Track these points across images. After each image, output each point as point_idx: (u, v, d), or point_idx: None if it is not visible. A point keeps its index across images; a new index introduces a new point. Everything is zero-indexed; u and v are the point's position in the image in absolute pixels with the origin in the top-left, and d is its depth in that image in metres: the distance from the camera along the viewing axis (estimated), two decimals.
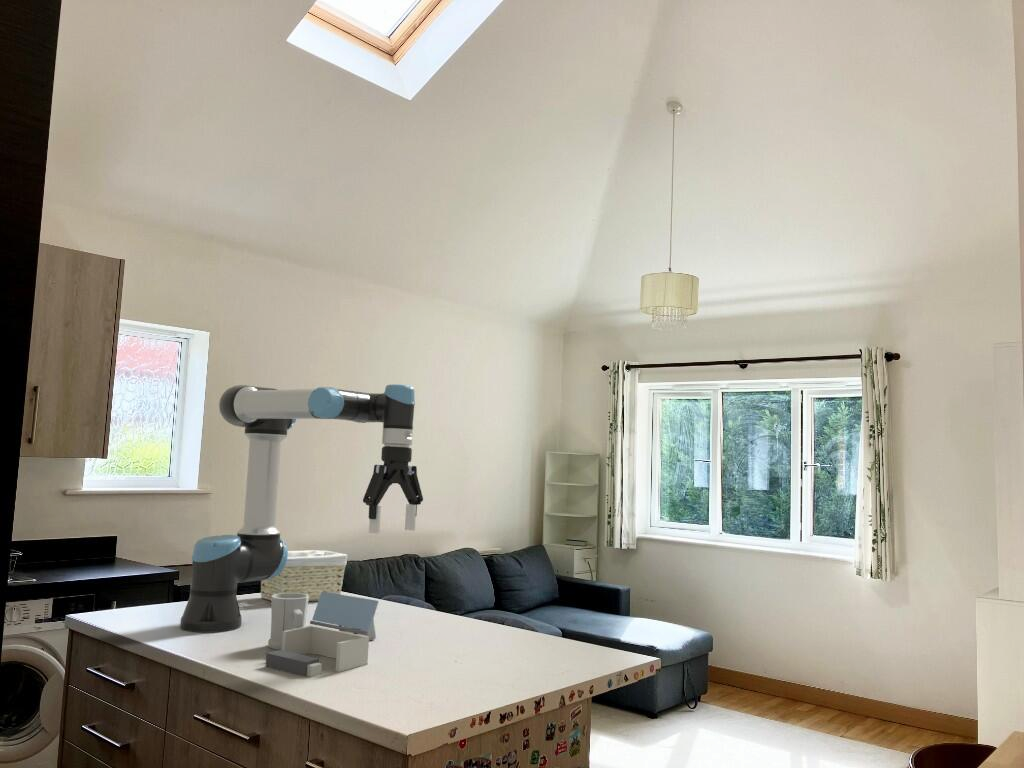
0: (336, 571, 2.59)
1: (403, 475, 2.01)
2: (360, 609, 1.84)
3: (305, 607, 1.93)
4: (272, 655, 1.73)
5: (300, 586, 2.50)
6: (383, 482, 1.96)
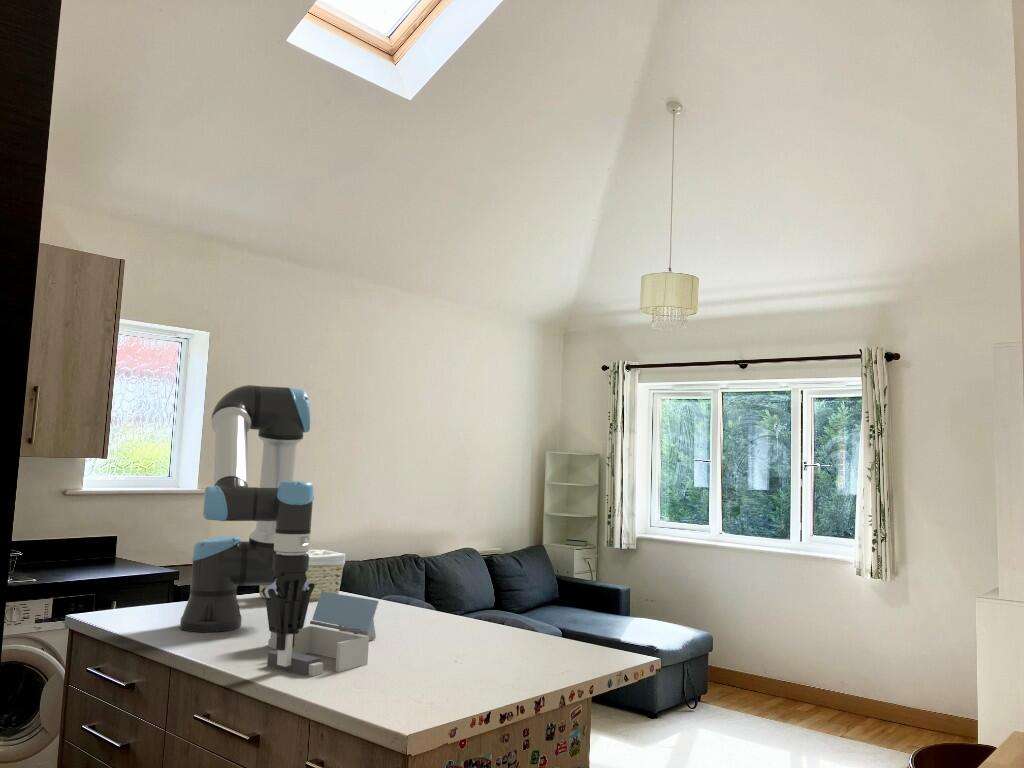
0: (334, 570, 2.60)
1: None
2: (360, 609, 1.84)
3: None
4: (274, 654, 1.73)
5: None
6: (281, 603, 1.70)
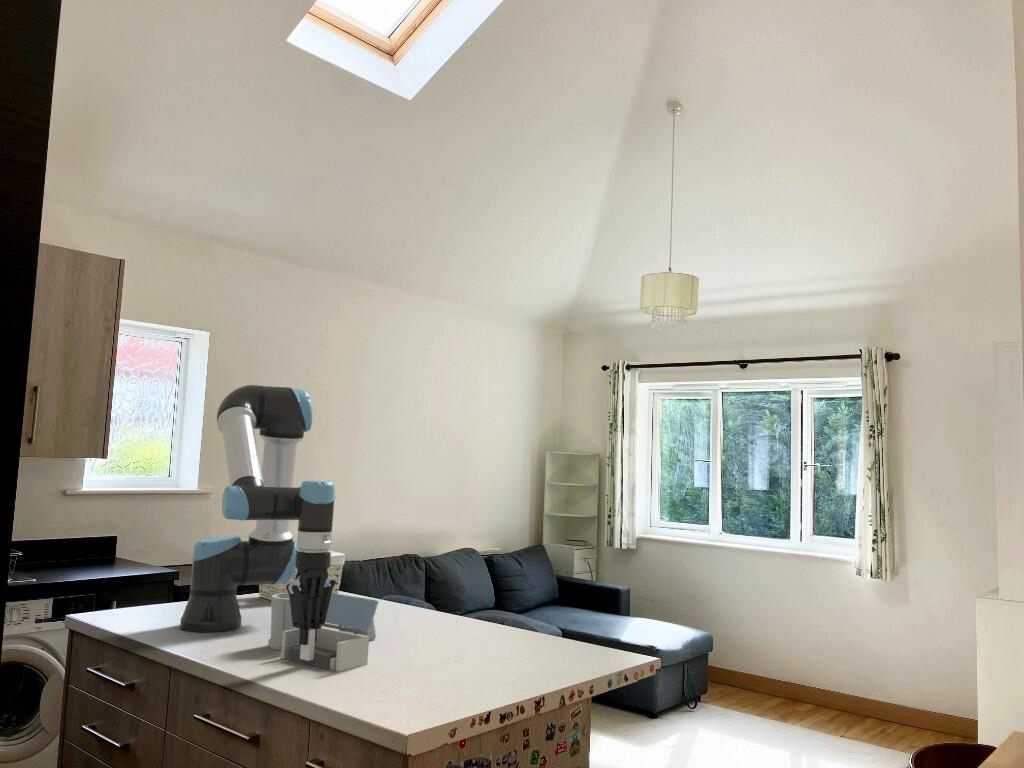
0: (334, 570, 2.60)
1: None
2: (360, 609, 1.84)
3: None
4: (295, 649, 1.79)
5: None
6: (304, 599, 1.75)
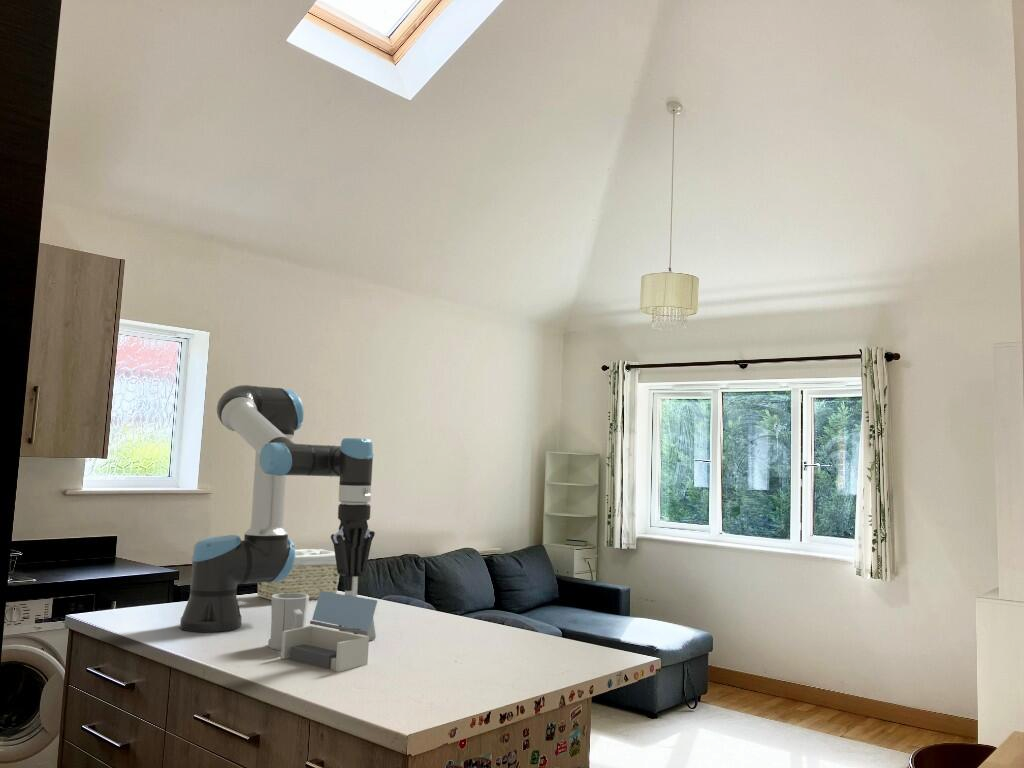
0: (332, 570, 2.62)
1: None
2: (359, 609, 1.83)
3: (305, 607, 1.93)
4: (296, 649, 1.79)
5: (297, 585, 2.53)
6: (347, 549, 1.87)
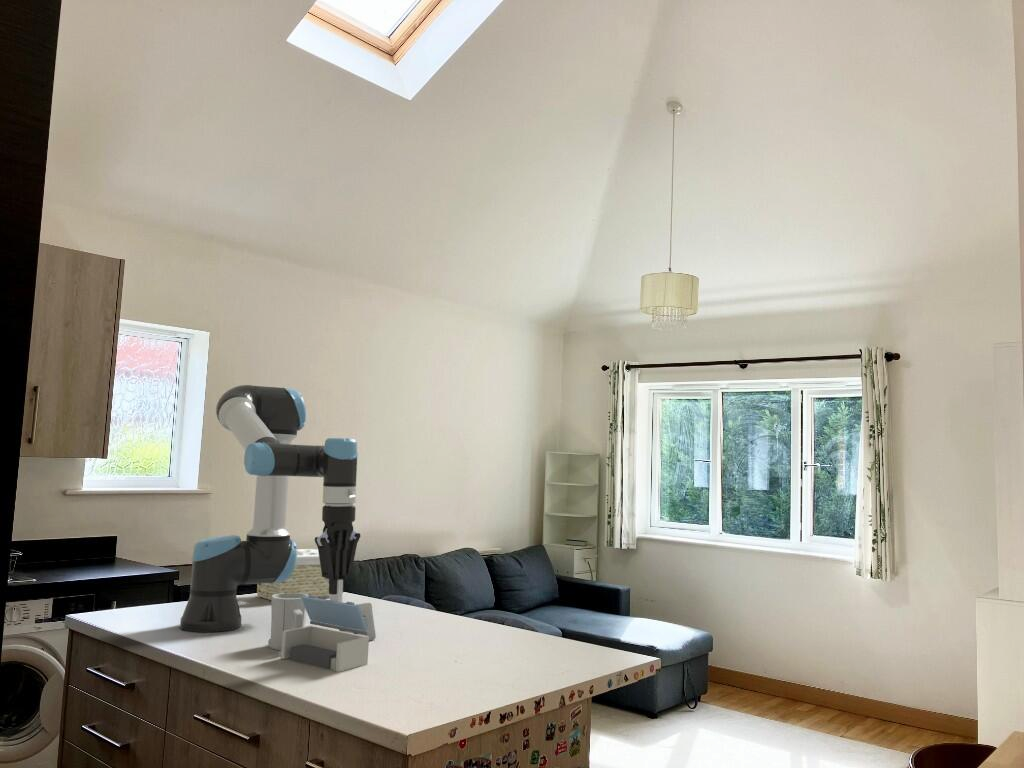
0: None
1: None
2: (347, 613, 1.80)
3: None
4: (296, 649, 1.79)
5: (297, 584, 2.53)
6: (332, 551, 1.83)
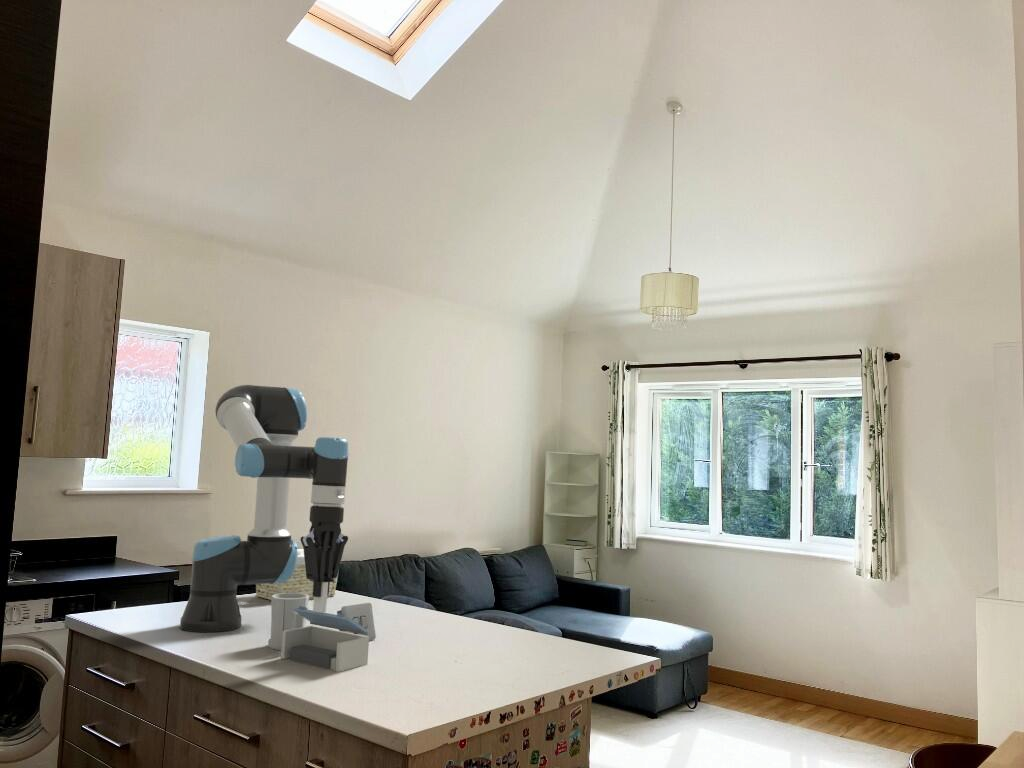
0: None
1: None
2: (341, 622, 1.78)
3: None
4: (296, 649, 1.79)
5: (298, 584, 2.53)
6: (318, 552, 1.79)
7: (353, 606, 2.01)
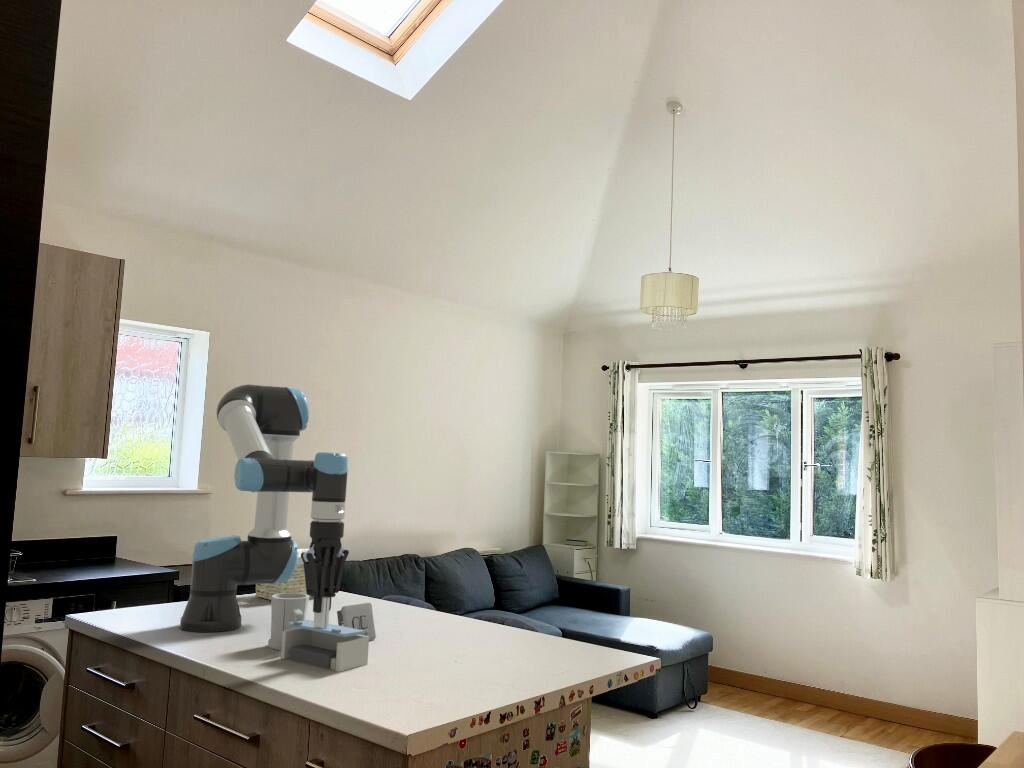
0: None
1: None
2: None
3: (305, 607, 1.93)
4: (296, 649, 1.79)
5: (298, 584, 2.54)
6: (318, 568, 1.79)
7: (353, 606, 2.01)
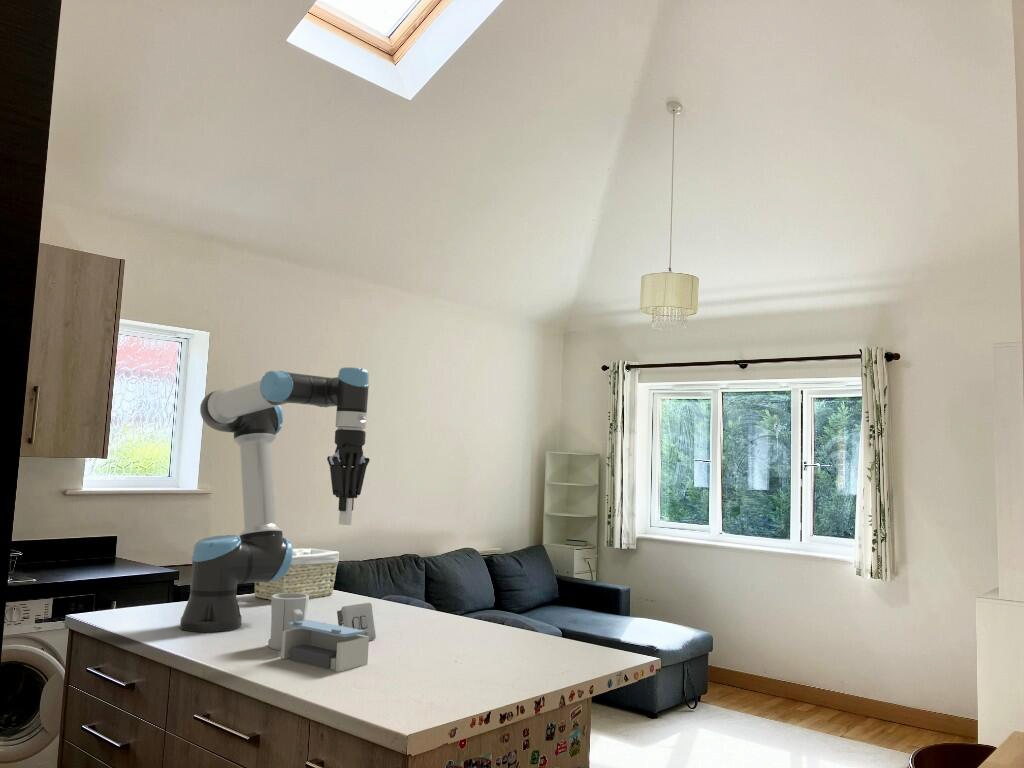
0: (330, 568, 2.65)
1: None
2: None
3: (305, 607, 1.93)
4: (296, 649, 1.79)
5: (299, 584, 2.54)
6: (342, 471, 1.97)
7: (353, 606, 2.01)
